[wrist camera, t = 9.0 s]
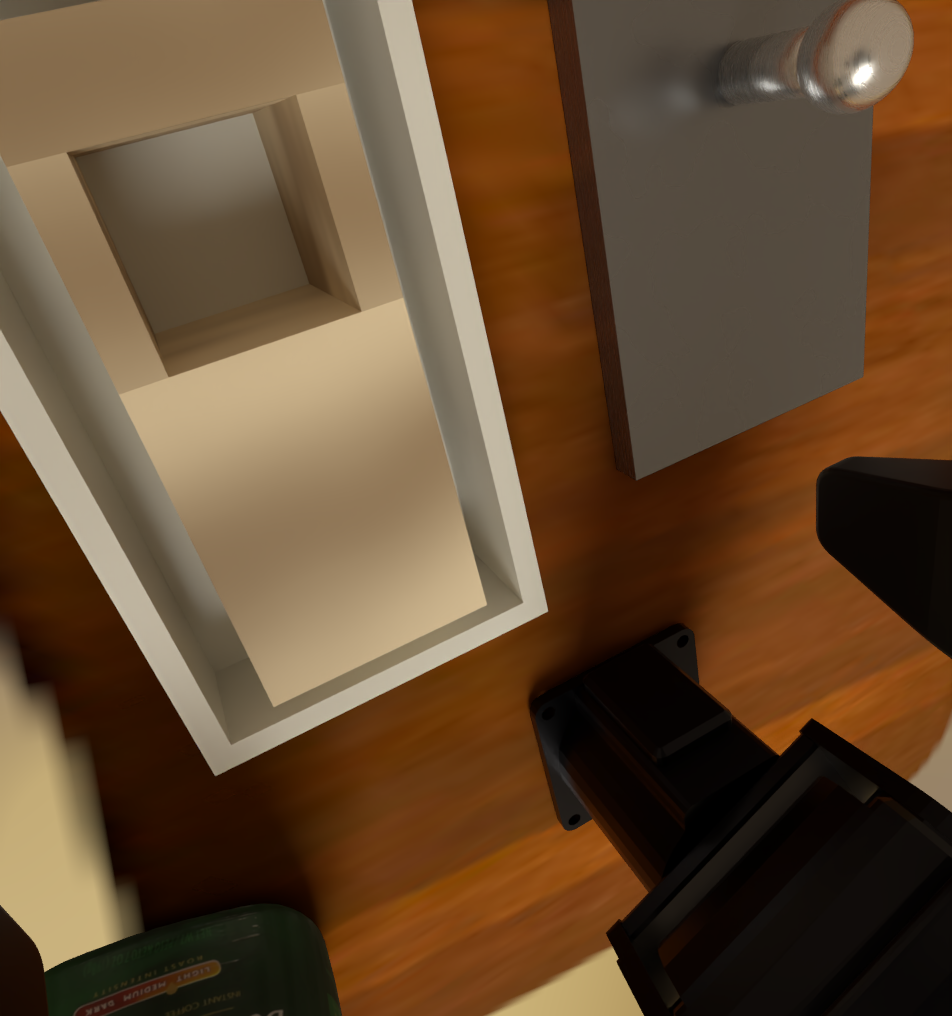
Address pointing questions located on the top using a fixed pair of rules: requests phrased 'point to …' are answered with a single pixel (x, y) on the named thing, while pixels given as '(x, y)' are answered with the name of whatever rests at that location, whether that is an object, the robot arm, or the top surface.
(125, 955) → the coffee jar
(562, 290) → the top surface
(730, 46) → the stud base
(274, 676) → the beige rectangular block
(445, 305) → the tray
